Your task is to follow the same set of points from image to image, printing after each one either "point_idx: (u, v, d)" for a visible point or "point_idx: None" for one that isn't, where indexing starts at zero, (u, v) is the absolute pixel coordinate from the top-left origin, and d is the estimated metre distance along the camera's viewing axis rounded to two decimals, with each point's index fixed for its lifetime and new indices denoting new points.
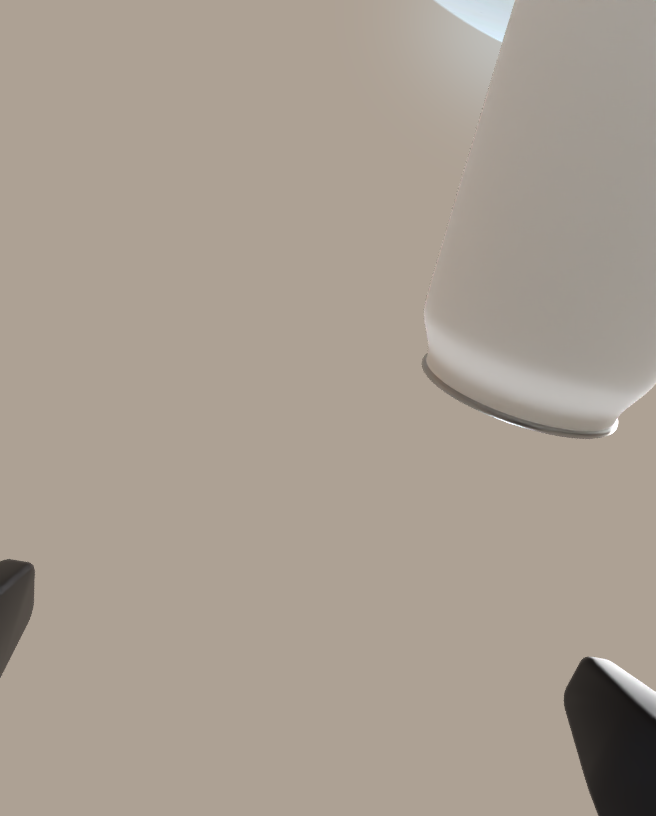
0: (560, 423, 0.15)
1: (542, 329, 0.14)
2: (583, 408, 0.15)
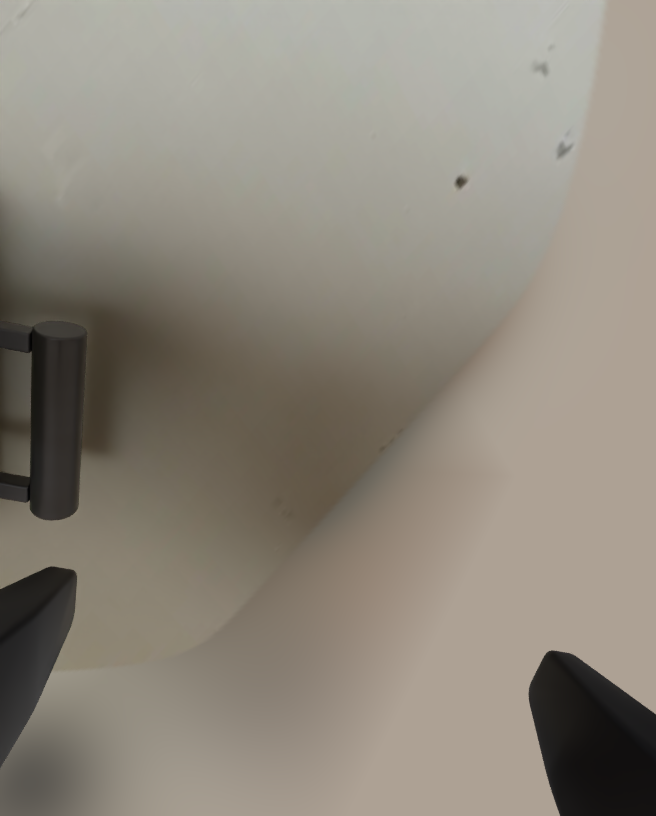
0: None
1: None
2: None
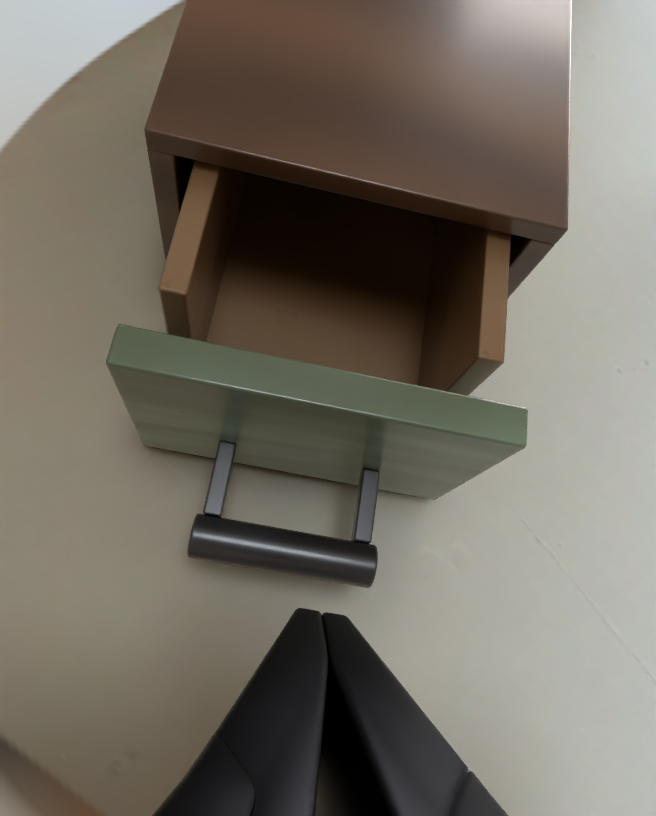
0: None
1: None
2: None
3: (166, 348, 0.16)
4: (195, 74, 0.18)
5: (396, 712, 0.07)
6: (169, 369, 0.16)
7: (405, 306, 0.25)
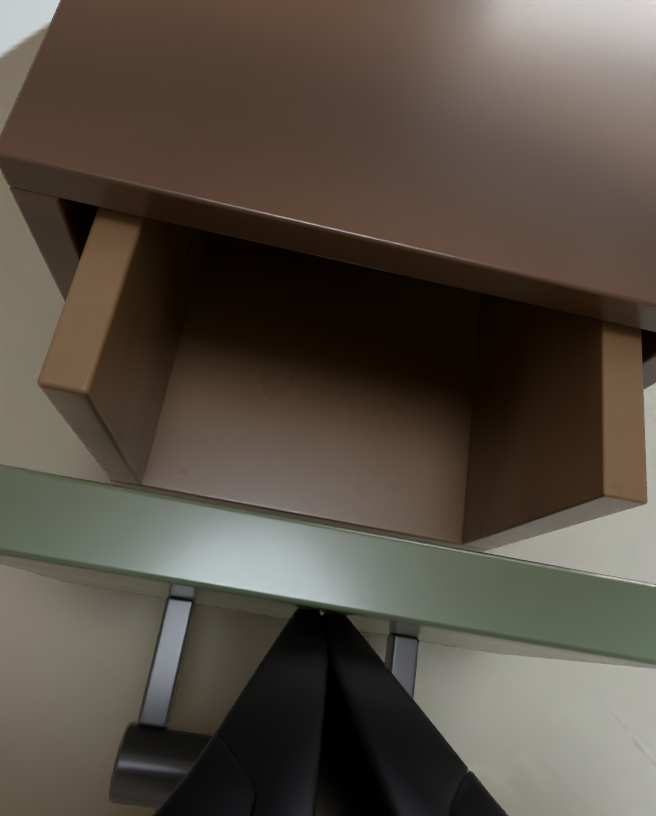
0: None
1: None
2: None
3: (40, 503, 0.08)
4: (98, 54, 0.10)
5: (396, 712, 0.07)
6: (44, 547, 0.08)
7: (446, 365, 0.18)
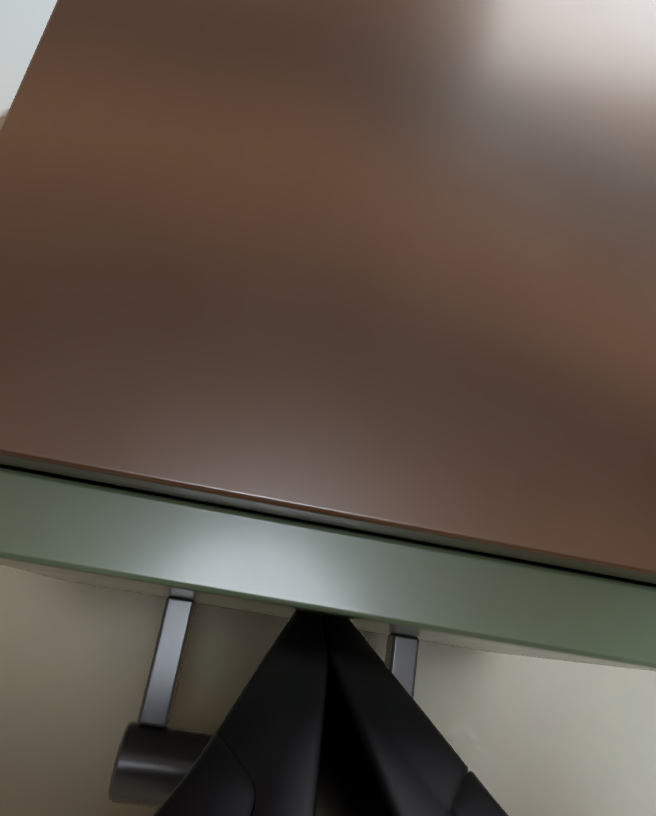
0: None
1: None
2: None
3: (39, 506, 0.08)
4: (6, 282, 0.08)
5: (396, 712, 0.07)
6: (43, 550, 0.08)
7: None
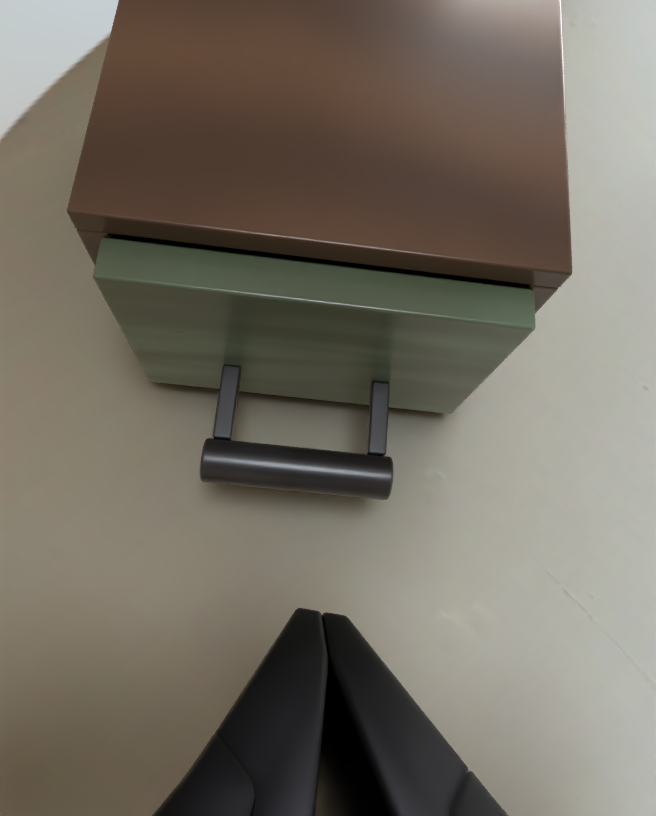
0: None
1: None
2: None
3: (153, 257, 0.16)
4: (122, 136, 0.15)
5: (396, 712, 0.07)
6: (158, 278, 0.15)
7: None
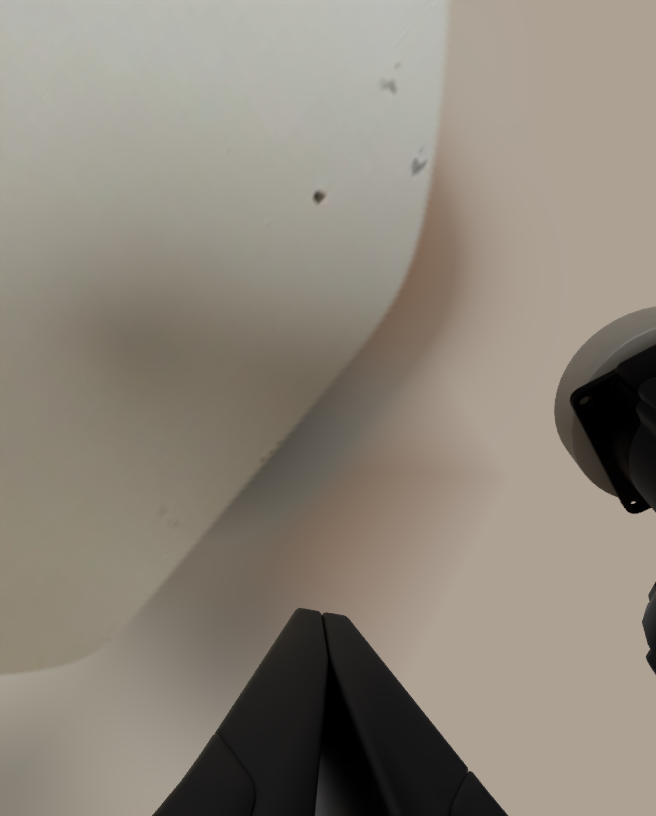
0: None
1: None
2: None
3: None
4: None
5: (396, 712, 0.07)
6: None
7: None
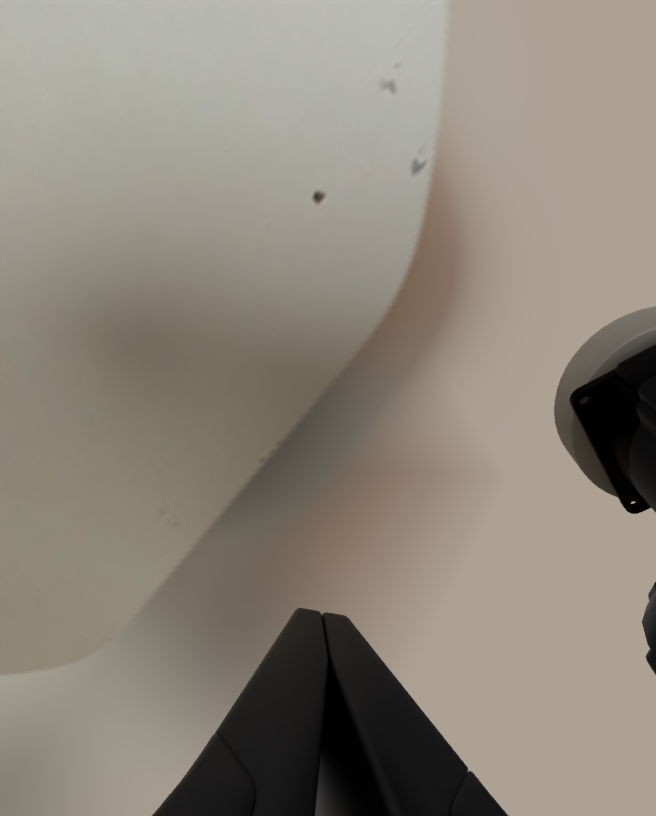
0: None
1: None
2: None
3: None
4: None
5: (396, 712, 0.07)
6: None
7: None
